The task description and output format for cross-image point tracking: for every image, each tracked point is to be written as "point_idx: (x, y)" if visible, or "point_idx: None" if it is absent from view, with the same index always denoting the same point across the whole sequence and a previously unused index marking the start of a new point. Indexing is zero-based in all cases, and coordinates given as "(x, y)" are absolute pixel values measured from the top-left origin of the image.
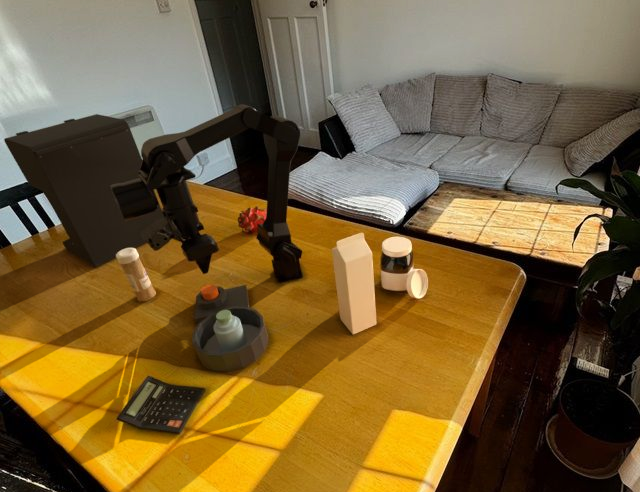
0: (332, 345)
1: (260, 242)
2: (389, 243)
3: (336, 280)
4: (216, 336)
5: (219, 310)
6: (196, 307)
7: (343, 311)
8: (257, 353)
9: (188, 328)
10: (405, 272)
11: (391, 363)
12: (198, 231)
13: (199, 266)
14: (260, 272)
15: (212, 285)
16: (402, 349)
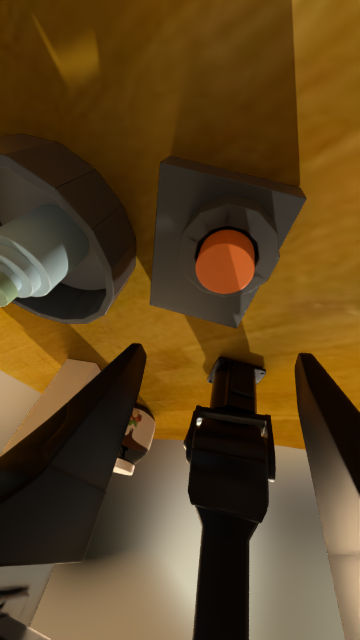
0: (52, 339)
1: (254, 450)
2: (119, 469)
3: None
4: (5, 224)
5: (107, 263)
6: (225, 183)
7: (71, 381)
8: None
9: (173, 115)
10: None
11: (24, 357)
12: (346, 631)
13: (84, 390)
14: (287, 352)
15: (237, 286)
16: (42, 370)
